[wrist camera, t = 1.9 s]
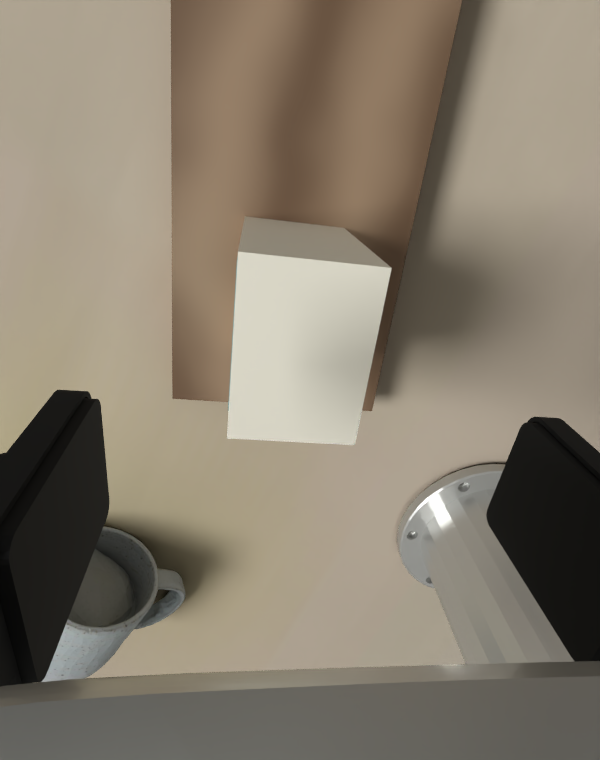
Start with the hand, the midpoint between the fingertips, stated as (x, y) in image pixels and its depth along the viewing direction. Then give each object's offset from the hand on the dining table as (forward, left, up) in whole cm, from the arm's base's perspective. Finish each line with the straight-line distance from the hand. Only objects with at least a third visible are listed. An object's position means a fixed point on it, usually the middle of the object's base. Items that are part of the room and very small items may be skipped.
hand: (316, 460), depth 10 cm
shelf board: (0, -5, -17) cm, 18 cm away
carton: (0, 0, -15) cm, 15 cm away
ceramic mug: (+10, +24, -18) cm, 31 cm away
